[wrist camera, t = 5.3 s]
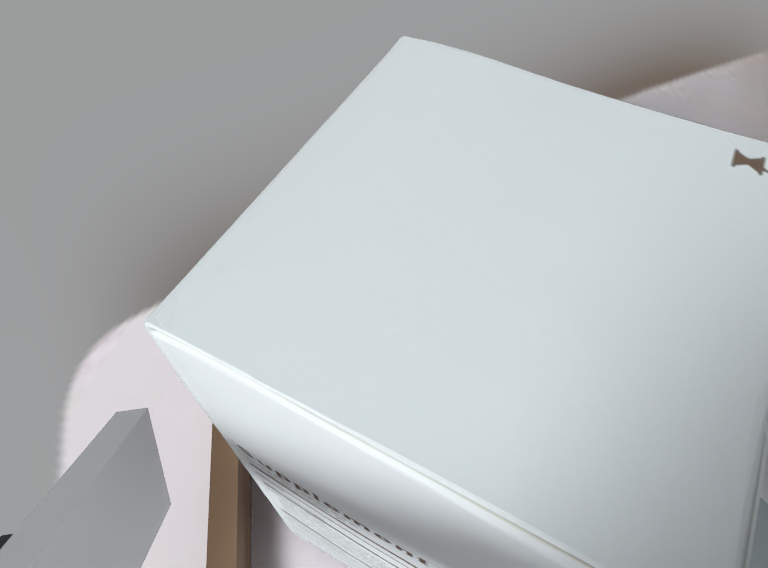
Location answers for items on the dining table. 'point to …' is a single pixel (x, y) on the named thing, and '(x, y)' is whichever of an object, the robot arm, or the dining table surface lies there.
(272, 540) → the dining table surface
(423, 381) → the supplement box
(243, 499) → the walnut collar
